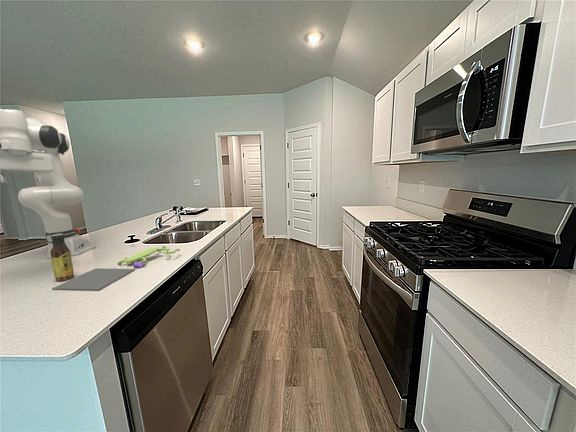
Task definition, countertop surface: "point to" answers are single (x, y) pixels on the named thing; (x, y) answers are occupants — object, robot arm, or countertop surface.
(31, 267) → the countertop surface
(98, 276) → the rubber mat
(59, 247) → the sauce bottle
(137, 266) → the figurine
